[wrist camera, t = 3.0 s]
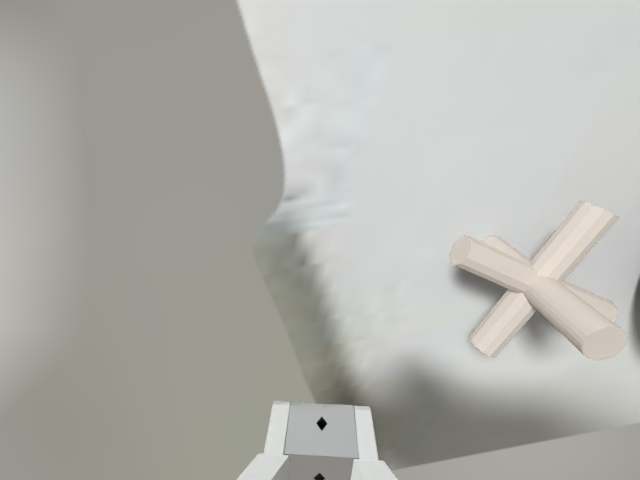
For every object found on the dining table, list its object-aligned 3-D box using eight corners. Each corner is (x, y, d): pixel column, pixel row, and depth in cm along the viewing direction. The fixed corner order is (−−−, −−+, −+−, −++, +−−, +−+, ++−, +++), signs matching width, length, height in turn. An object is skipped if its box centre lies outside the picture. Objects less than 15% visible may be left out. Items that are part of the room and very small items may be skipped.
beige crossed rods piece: (595, 215, 21) (799, 296, 12) (504, 322, 25) (608, 446, 16) (474, 153, 20) (599, 192, 11) (396, 276, 24) (440, 383, 14)
